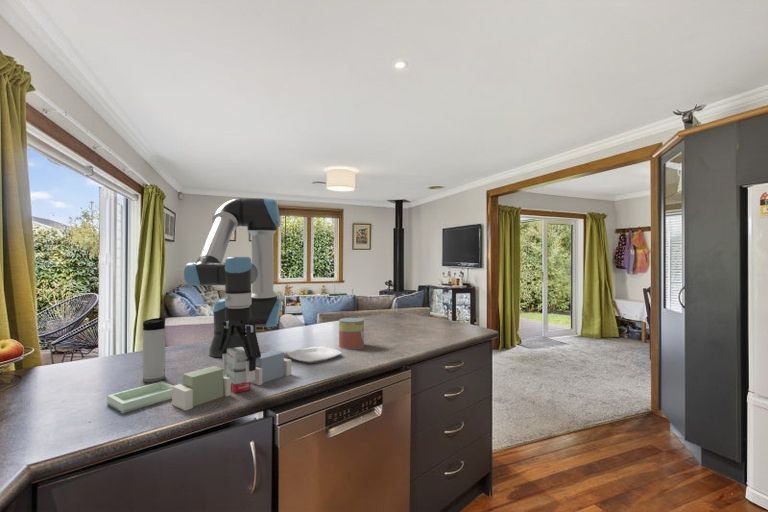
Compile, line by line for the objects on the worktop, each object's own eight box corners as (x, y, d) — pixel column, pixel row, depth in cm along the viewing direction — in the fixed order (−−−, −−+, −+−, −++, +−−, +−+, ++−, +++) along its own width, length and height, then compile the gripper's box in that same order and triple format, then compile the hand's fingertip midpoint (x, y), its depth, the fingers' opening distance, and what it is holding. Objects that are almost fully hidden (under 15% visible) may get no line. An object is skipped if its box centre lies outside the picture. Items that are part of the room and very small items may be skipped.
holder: (172, 404, 100) (172, 386, 100) (278, 370, 129) (278, 356, 129) (185, 410, 96) (185, 391, 96) (291, 374, 125) (291, 359, 125)
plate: (348, 357, 148) (348, 352, 148) (308, 368, 134) (308, 362, 134) (319, 349, 161) (319, 344, 161) (280, 358, 147) (280, 353, 147)
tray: (107, 404, 100) (107, 395, 100) (162, 389, 111) (162, 381, 111) (122, 413, 94) (122, 403, 94) (178, 396, 106) (178, 387, 106)
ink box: (251, 389, 111) (251, 350, 111) (234, 393, 108) (234, 353, 108) (242, 382, 117) (242, 345, 117) (225, 385, 114) (225, 348, 114)
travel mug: (170, 377, 123) (170, 317, 123) (152, 383, 117) (152, 320, 117) (156, 375, 125) (156, 316, 125) (138, 381, 119) (138, 319, 119)
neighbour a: (182, 402, 101) (182, 373, 101) (213, 392, 109) (213, 366, 109) (192, 407, 98) (192, 377, 98) (223, 396, 106) (223, 368, 106)
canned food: (363, 349, 159) (363, 321, 159) (337, 349, 159) (337, 321, 159) (364, 343, 170) (364, 317, 170) (340, 343, 170) (340, 317, 170)
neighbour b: (251, 380, 119) (251, 356, 119) (274, 373, 127) (274, 350, 127) (261, 383, 116) (261, 358, 116) (283, 376, 124) (283, 352, 124)
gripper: (205, 305, 116) (205, 373, 116) (251, 311, 103) (251, 389, 103) (227, 302, 122) (227, 367, 122) (273, 308, 109) (273, 381, 109)
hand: (238, 377), depth 113 cm, fingers open, 11 cm apart
